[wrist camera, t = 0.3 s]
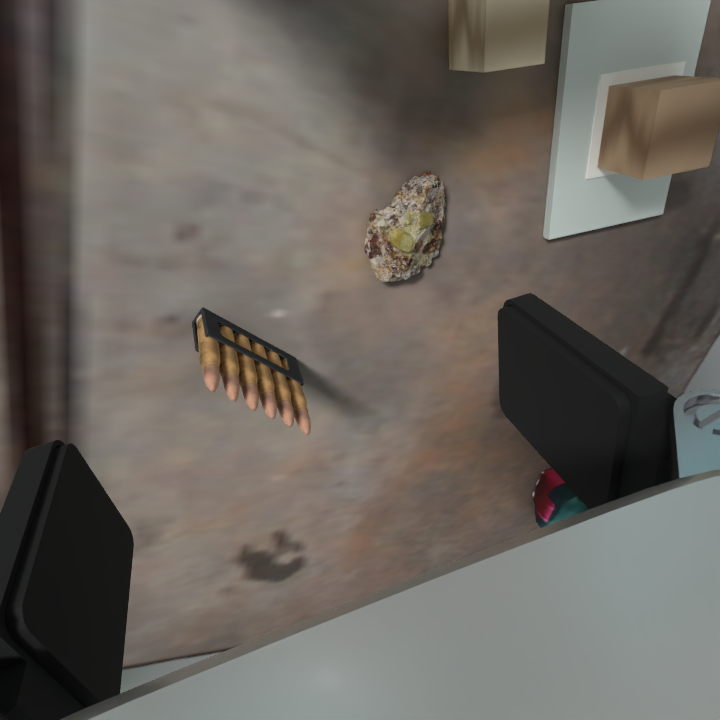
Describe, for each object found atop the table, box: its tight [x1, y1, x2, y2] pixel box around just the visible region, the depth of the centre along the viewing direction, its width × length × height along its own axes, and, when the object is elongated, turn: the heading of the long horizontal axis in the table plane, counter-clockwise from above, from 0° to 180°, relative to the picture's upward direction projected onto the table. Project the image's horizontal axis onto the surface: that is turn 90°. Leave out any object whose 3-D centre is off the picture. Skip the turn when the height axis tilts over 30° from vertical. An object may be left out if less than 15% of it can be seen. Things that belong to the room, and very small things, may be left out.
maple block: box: [449, 0, 550, 73], centre depth 39 cm, size 5×5×6 cm
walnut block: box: [597, 75, 720, 180], centre depth 46 cm, size 7×7×6 cm
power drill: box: [532, 468, 589, 528], centre depth 69 cm, size 7×16×20 cm, turn 172°
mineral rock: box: [364, 171, 446, 283], centre depth 48 cm, size 11×4×8 cm
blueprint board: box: [543, 0, 711, 240], centre depth 49 cm, size 20×14×1 cm
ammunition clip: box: [192, 308, 311, 435], centre depth 44 cm, size 11×2×12 cm, turn 50°
